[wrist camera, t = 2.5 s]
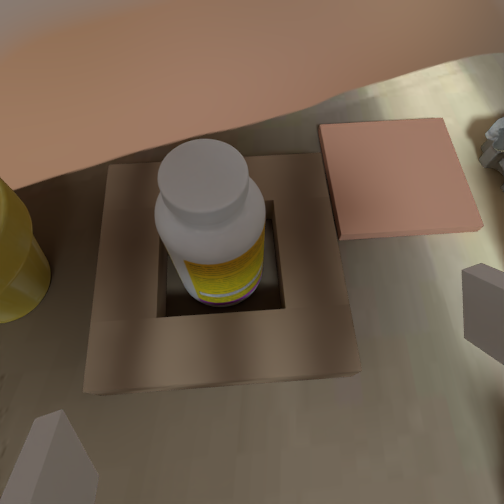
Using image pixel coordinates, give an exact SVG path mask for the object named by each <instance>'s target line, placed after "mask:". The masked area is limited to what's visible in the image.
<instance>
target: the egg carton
mask: <svg viewBox="0 0 504 504" xmlns="http://www.w3.org/2000/svg"><path fill="white" fill-rule="evenodd" d="M485 136H486V138H487V141H486V142H485V143H484V144H483V145H482V146H481V149H482V152H483V155H482V156H481V157H480V158H479V162H480V163H481V164H482V166H483V167H484V168H494V169H496V170H498V171H499V172H500V173H502V175H503V176H504V152H501V151H496V150H495V149H498V150H504V117H502V118H500V119H498V120H497V121H496V122H495V123H494V124H493V125H492V127H491V128H490V129H489V130H488V131H487V132H486V133H485ZM494 148H495V149H494ZM500 188H501V189H502V191H503V192H504V184H503V185H502V186H501V187H500Z"/></svg>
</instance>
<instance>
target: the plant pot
mask: <svg viewBox="0 0 504 504" xmlns="http://www.w3.org/2000/svg"><path fill="white" fill-rule="evenodd" d="M50 278H51V271H50V266H49V263H48V260H47V259H46V257H45V255H44V253H43V251H42V250H41V248H40V246H39V245H38V243H37V241H36V239H35V237H34V236H33V228H32V221H31V217H30V214H29V212H28V210H27V208H26V206H25V205H24V203H23V202H22V201H21V199H20V198H19V197H18V196H17V195H16V194H15V192H14V191H13V190H12V189H11V188H10V187H9V186H8V185H7V184H6V183H5V182H4V181H3V180H2V179H1V178H0V323H6V322H10V321H13V320H16V319H19V318H21V317H23V316H25V315H26V314H28V313H29V312H31V311H32V310H33V309H34V308H35V307H36V306H37V305H38V304H39V303H40V302H41V300H42V299H43V298H44V296H45V294H46V292H47V290H48V287H49V284H50Z"/></svg>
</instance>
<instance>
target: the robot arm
mask: <svg viewBox="0 0 504 504" xmlns="http://www.w3.org/2000/svg"><path fill="white" fill-rule="evenodd" d="M462 291H463V318H464V338H465V339H466V340H468V341H469V342H471V343H472V344H474V345H475V346H477V347H478V348H480V349H481V350H483V351H484V352H485V353H487V354H488V355H490V356H491V357H493V358H494V359H496V360H497V361H499V362H500V363H502V364H503V365H504V272H502V271H500V270H497V269H495V268H492V267H490V266H488V265H485V264H483V263H480V264H477V265H474V266H471V267H469V268H466V269H463V270H462ZM98 479H99V475H98V473H97V471H96V469H95V467H94V466H93V464H92V462H91V460H90V458H89V456H88V455H87V453H86V451H85V449H84V447H83V445H82V444H81V442H80V440H79V438H78V436H77V434H76V433H75V431H74V429H73V427H72V425H71V423H70V422H69V420H68V418H67V416H66V414H65V412H64V411H63V409H61V410H58V411H55V412H52V413H50V414H47V415H44V416H41V417H38V418H35V420H34V422H33V425H32V427H31V429H30V432H29V434H28V436H27V439H26V441H25V443H24V446H23V448H22V450H21V452H20V455H19V457H18V459H17V462H16V464H15V466H14V469H13V471H12V473H11V476H10V478H9V480H8V483H7V485H6V487H5V490H4V492H3V494H2V497H1V499H0V504H94V502H95V496H96V490H97V485H98Z"/></svg>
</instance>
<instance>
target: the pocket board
mask: <svg viewBox="0 0 504 504" xmlns="http://www.w3.org/2000/svg"><path fill="white" fill-rule="evenodd" d="M243 158H244V159H245V161H246V163H247V167H248V173H249V177H250V178H251V179H252V180H253V181H254V182H255V183H256V185H257V186H258V188H259V189H260V191H261V193H262V196H263V199H264V202H265V211H266V218H265V219H272V226H273V235H274V245H275V254H276V263H277V272H278V282H279V291H280V300H281V309H275V310H261V311H247V312H232V313H218V314H204V315H190V316H175V317H166V290H167V253H168V252H167V250H166V247H165V246H164V244H163V242H162V240H161V238H160V235H159V233H158V231H157V228H156V224H155V205H156V201H157V198H158V195H159V193H160V189H159V186H158V171H159V167H160V165H161V163H162V162H146V163H129V164H112V165H108V173H107V182H106V191H105V200H104V209H103V217H102V226H101V235H100V244H99V252H98V261H97V270H96V279H95V288H94V296H93V305H92V314H91V323H90V332H89V340H88V349H87V358H86V367H85V376H84V384H83V392H85V393H90V394H95V395H100V396H101V395H114V394H127V393H140V392H153V391H167V390H180V389H193V388H206V387H219V386H232V385H246V384H259V383H272V382H285V381H298V380H311V379H325V378H338V377H351V376H353V375H355V374H357V373H359V372H361V371H362V367H361V362H360V357H359V351H358V346H357V341H356V335H355V330H354V325H353V320H352V314H351V309H350V304H349V299H348V293H347V288H346V283H345V277H344V272H343V267H342V262H341V256H340V251H339V246H338V241H337V235H336V230H335V225H334V219H333V214H332V209H331V204H330V198H329V193H328V188H327V182H326V177H325V172H324V167H323V161H322V156H321V152H319V153H302V154H284V155H267V156H250V157H243Z"/></svg>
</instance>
